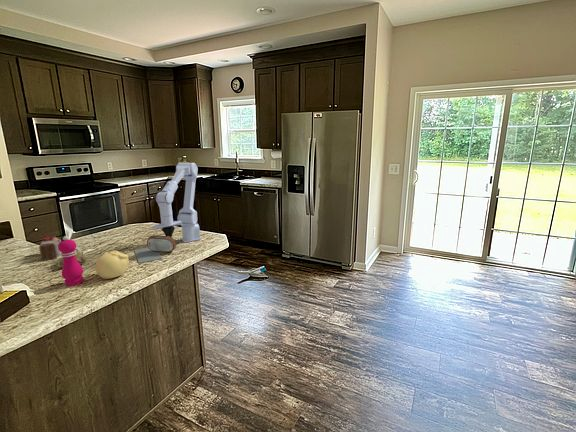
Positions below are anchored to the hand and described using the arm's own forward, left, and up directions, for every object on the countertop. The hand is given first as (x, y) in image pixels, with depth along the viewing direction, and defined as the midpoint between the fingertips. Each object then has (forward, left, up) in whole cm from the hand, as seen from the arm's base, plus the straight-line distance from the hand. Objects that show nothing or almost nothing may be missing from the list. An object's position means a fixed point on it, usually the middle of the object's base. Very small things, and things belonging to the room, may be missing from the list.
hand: (169, 240), depth 158 cm
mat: (+11, 0, -5) cm, 12 cm away
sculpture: (+27, +18, -6) cm, 33 cm away
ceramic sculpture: (+42, -8, -6) cm, 43 cm away
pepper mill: (+41, +17, -6) cm, 45 cm away
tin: (+4, 0, -5) cm, 7 cm away
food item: (+52, -26, -6) cm, 59 cm away
